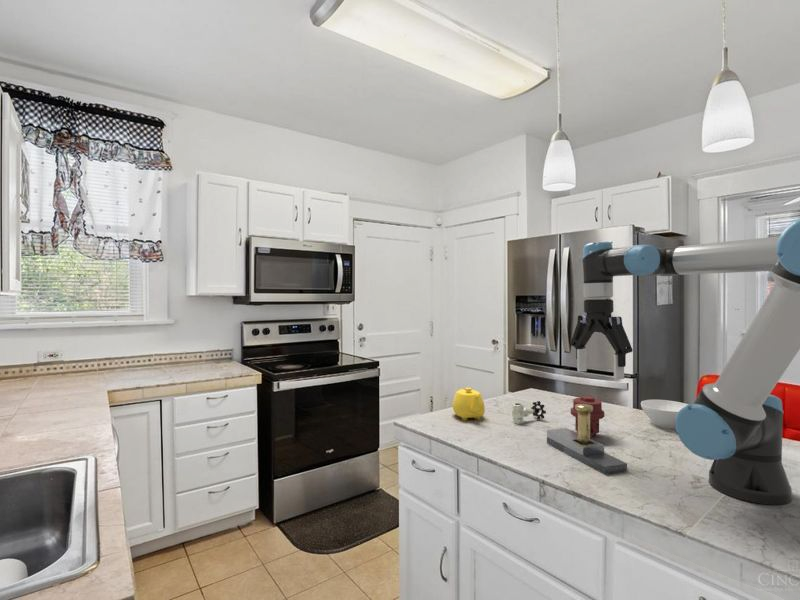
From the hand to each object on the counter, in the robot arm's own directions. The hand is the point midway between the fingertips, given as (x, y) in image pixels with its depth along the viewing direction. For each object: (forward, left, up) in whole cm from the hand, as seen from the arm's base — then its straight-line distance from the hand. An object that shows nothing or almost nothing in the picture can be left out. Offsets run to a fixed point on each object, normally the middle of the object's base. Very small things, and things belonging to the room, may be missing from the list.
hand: (599, 375), depth 122 cm
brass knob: (+2, +4, -23) cm, 23 cm away
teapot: (+46, +18, -23) cm, 54 cm away
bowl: (+16, -42, -23) cm, 51 cm away
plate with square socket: (+2, +4, -23) cm, 23 cm away
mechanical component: (+16, -9, -23) cm, 30 cm away
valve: (+36, 0, -23) cm, 43 cm away
